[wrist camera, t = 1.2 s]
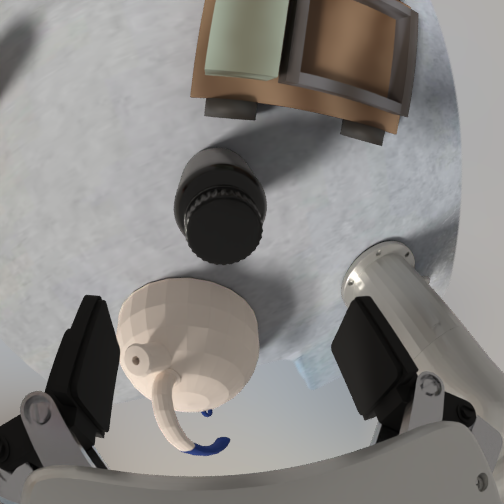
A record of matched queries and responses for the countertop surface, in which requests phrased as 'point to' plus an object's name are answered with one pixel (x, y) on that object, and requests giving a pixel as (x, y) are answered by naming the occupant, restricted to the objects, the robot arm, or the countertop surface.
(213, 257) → the supplement bottle
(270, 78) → the toy truck
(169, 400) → the kettle
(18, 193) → the countertop surface
